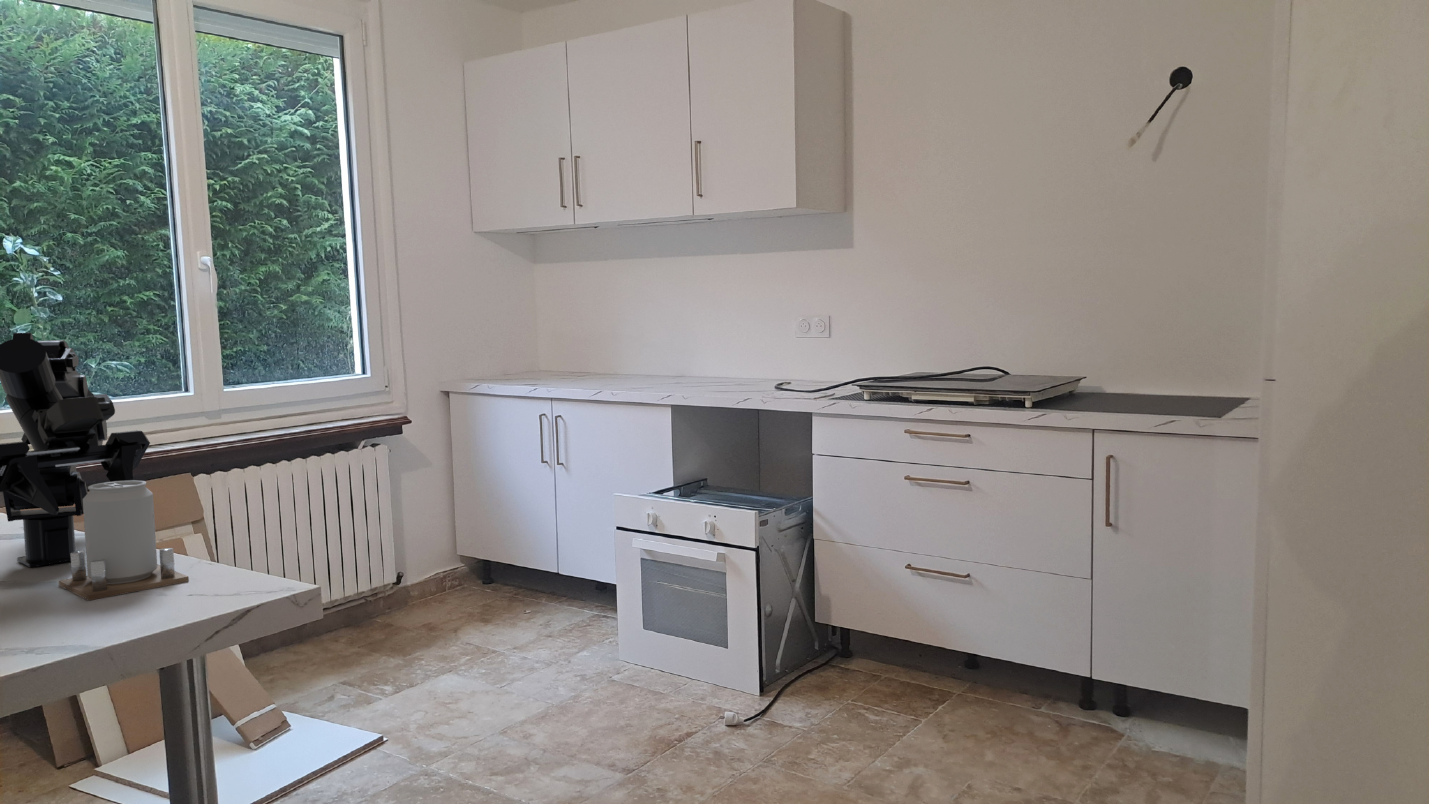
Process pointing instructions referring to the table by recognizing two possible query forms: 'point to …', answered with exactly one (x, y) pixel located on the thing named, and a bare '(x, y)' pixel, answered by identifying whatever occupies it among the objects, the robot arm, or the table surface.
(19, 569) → the table surface
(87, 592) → the standoff plate
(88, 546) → the can
